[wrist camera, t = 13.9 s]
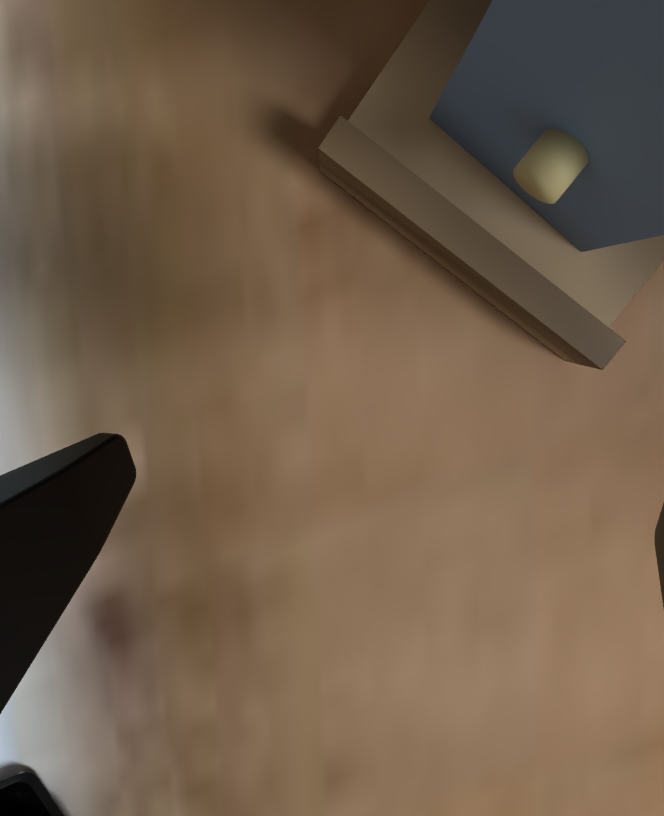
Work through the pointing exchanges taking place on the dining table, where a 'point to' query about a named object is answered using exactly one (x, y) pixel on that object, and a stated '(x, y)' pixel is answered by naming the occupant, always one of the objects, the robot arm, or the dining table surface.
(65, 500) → the robot arm
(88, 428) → the dining table surface
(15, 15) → the dining table surface
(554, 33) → the blue-grey rectangular block
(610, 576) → the dining table surface
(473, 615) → the dining table surface
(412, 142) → the wooden stand
